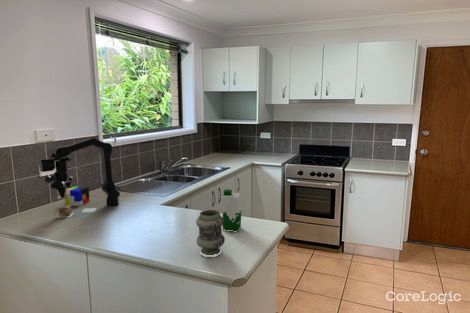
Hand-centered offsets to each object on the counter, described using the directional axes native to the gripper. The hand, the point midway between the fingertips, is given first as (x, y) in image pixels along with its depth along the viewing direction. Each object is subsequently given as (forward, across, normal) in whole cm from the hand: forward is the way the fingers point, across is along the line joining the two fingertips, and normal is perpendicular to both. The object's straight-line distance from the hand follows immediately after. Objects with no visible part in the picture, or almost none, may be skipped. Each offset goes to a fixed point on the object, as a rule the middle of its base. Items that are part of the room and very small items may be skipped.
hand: (64, 196), depth 188 cm
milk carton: (+12, +35, +90) cm, 97 cm away
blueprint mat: (+11, -3, +5) cm, 13 cm away
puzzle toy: (+12, -23, 0) cm, 26 cm away
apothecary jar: (+12, +60, +77) cm, 98 cm away
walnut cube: (+11, 0, 0) cm, 11 cm away
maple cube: (0, 0, 0) cm, 0 cm away
